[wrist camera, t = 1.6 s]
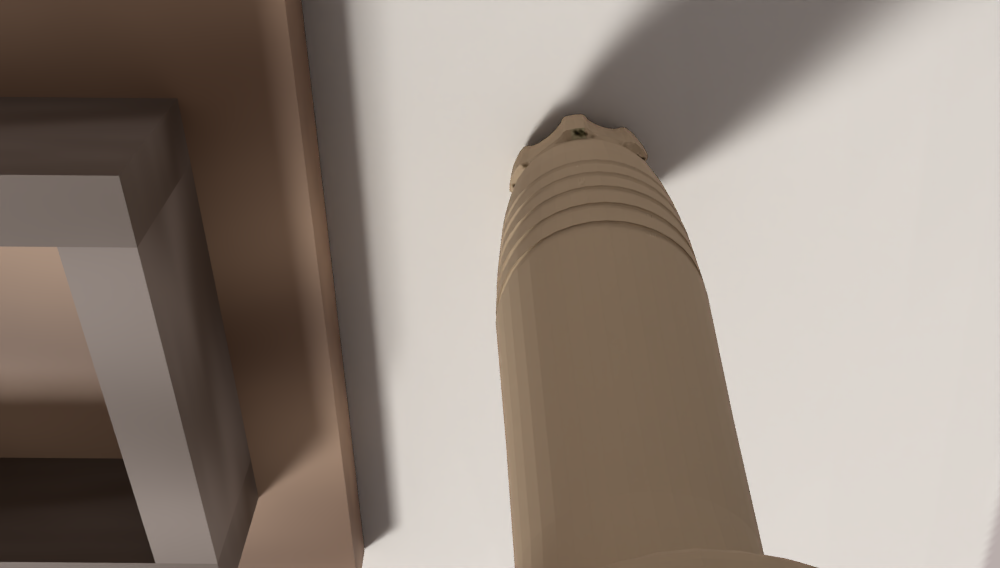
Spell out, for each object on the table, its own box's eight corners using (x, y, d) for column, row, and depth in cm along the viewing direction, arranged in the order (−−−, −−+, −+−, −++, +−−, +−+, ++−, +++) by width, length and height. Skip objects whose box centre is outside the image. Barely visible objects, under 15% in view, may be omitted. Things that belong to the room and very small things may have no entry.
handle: (732, 79, 20) (1082, 723, 8) (622, 302, 24) (750, 996, 11) (527, 13, 20) (564, 614, 7) (445, 254, 23) (374, 944, 11)
